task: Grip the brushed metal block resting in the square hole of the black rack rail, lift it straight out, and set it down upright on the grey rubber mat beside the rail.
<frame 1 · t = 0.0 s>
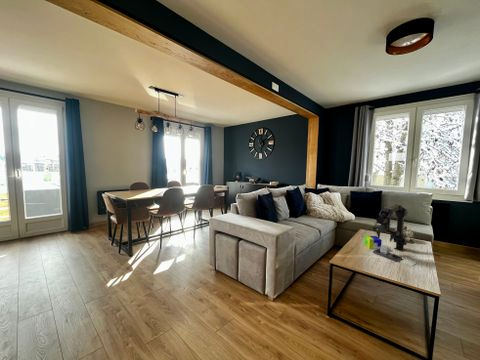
hand: (384, 239, 172), 15 cm above the table, fingers open, 9 cm apart
mat: (408, 262, 162), on the table
rail: (387, 256, 173), on the table
brushed metal block: (384, 255, 175), resting in rail
puzzle toy: (372, 247, 190), on the table
owl figurine: (402, 240, 209), on the table
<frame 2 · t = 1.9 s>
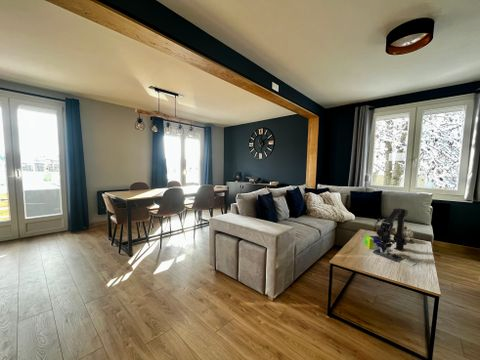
hand: (384, 251, 174), 3 cm above the table, fingers closed on brushed metal block, 5 cm apart
brushed metal block: (384, 255, 175), resting in rail, touching gripper
everything else where it was.
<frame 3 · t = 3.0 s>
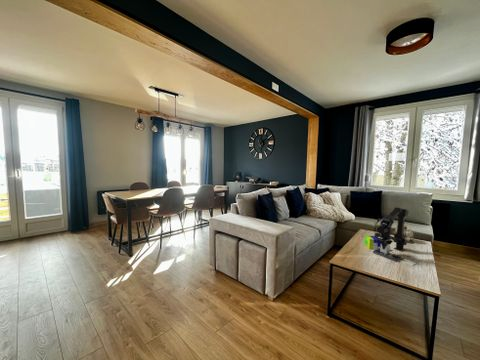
hand: (385, 248, 174), 6 cm above the table, fingers closed on brushed metal block, 5 cm apart
brushed metal block: (384, 252, 174), point 3 cm above the table, touching gripper
everything else where it was.
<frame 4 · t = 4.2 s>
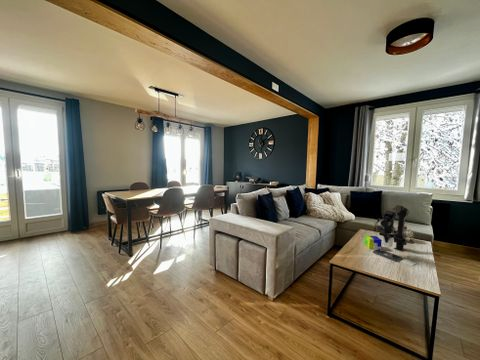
hand: (387, 242, 172), 12 cm above the table, fingers closed on brushed metal block, 5 cm apart
brushed metal block: (387, 245, 173), point 9 cm above the table, touching gripper
everything else where it was.
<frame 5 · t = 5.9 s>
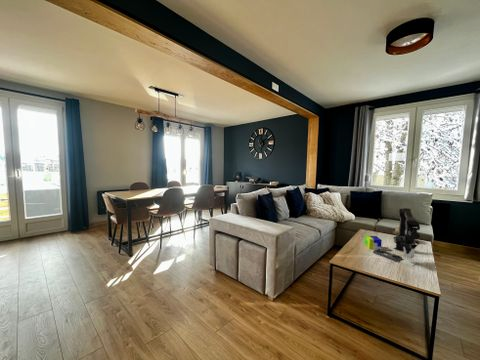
hand: (408, 253, 161), 8 cm above the table, fingers closed on brushed metal block, 5 cm apart
brushed metal block: (408, 256, 162), point 5 cm above the table, touching gripper
everything else where it was.
when the fingers open (5 cm above the table, at t = 6.8 s): brushed metal block drops 1 cm, resting on mat.
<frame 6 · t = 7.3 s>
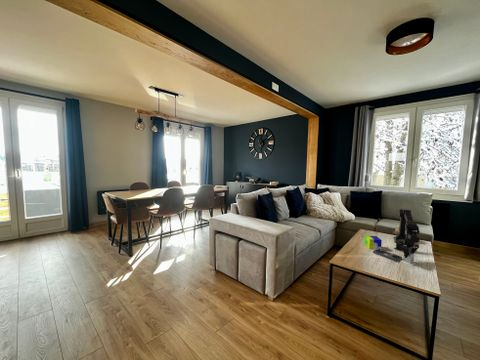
hand: (408, 256, 161), 5 cm above the table, fingers open, 9 cm apart
brushed metal block: (408, 262, 162), resting on mat
everything else where it was.
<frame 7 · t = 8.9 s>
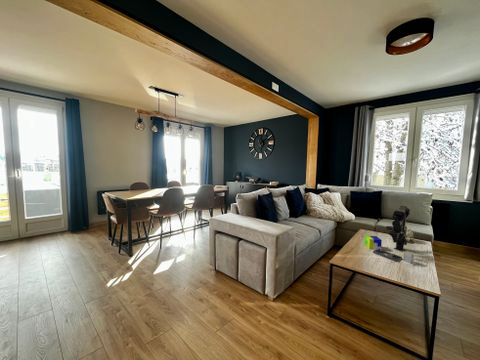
hand: (396, 241, 175), 12 cm above the table, fingers open, 9 cm apart
nothing on the table moved.
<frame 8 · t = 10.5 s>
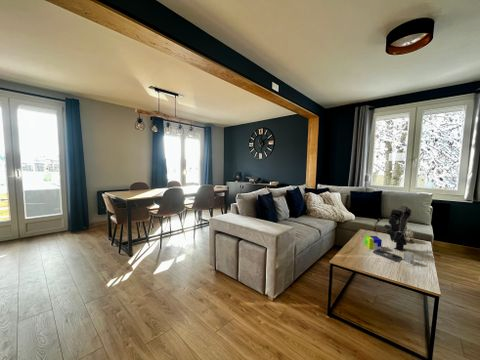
hand: (394, 240, 177), 13 cm above the table, fingers open, 9 cm apart
nothing on the table moved.
at the end: brushed metal block inside the target area on the mat (0.1 cm from its centre), point 0.4 cm above the mat's base; brushed metal block tilted 0°; brushed metal block touching mat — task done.
